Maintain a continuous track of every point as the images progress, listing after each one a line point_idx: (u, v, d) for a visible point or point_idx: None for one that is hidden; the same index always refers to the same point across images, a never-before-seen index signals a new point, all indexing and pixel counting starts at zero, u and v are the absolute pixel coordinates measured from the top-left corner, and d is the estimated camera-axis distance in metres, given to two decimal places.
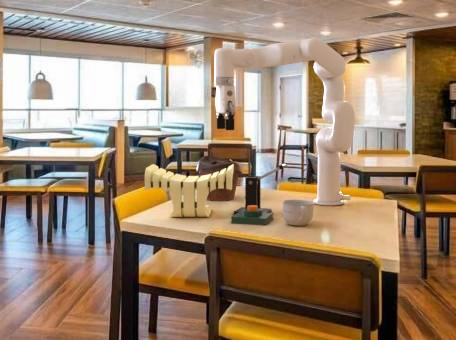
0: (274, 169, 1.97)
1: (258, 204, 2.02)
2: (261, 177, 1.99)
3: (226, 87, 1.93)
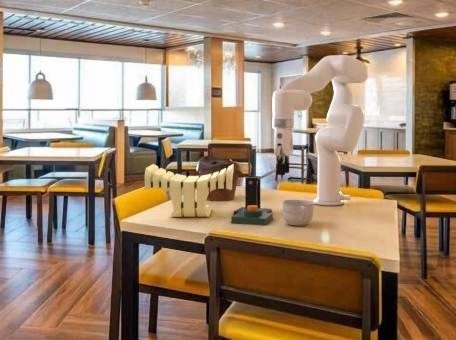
0: (274, 169, 1.97)
1: (258, 204, 2.02)
2: (261, 177, 1.99)
3: (277, 129, 1.92)
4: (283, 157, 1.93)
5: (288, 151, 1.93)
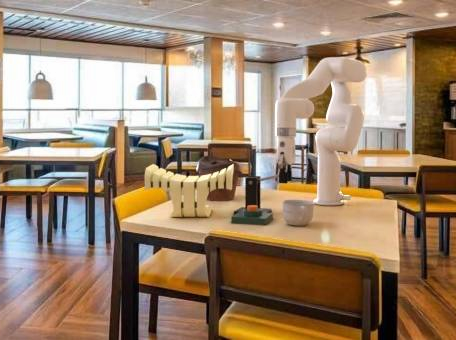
0: (276, 175, 1.97)
1: (258, 204, 2.02)
2: (262, 179, 1.99)
3: (280, 138, 1.92)
4: (286, 165, 1.93)
5: (291, 159, 1.93)
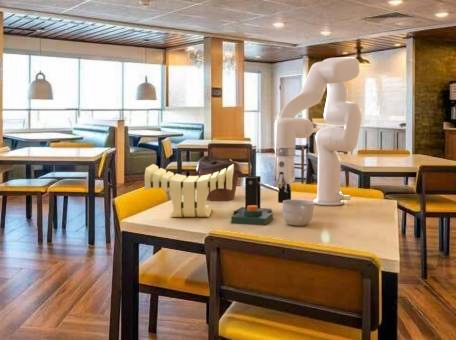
0: (277, 189, 1.98)
1: (258, 204, 2.02)
2: (262, 185, 1.99)
3: (279, 158, 1.93)
4: (285, 185, 1.94)
5: (290, 179, 1.94)
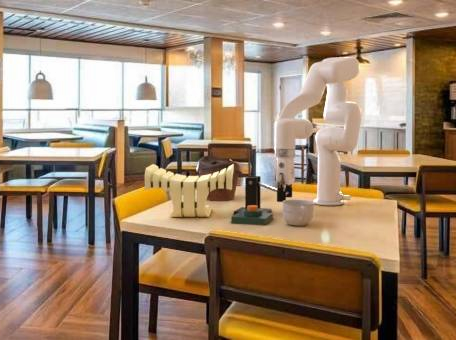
0: (276, 189, 1.98)
1: (258, 204, 2.02)
2: (262, 185, 1.99)
3: (279, 159, 1.93)
4: (284, 184, 1.93)
5: (290, 180, 1.94)
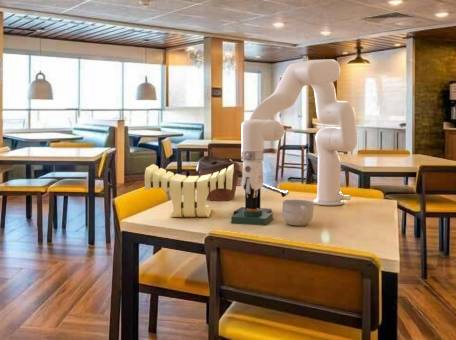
0: (276, 189, 1.98)
1: (258, 204, 2.02)
2: None
3: (245, 162, 1.82)
4: (253, 192, 1.85)
5: (257, 185, 1.83)
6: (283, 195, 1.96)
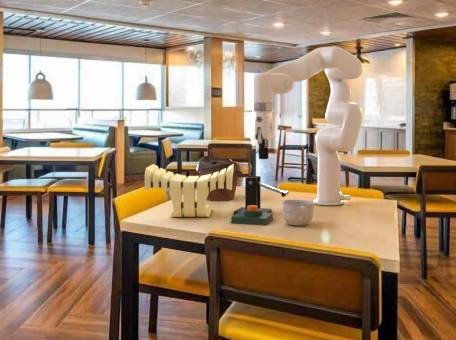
0: (276, 189, 1.98)
1: (258, 204, 2.02)
2: (262, 185, 1.99)
3: (256, 113, 1.89)
4: (264, 142, 1.92)
5: (268, 135, 1.90)
6: (283, 195, 1.96)
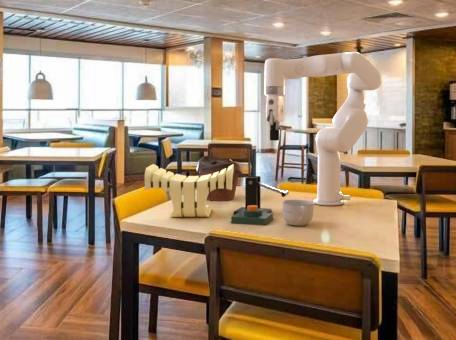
0: (276, 189, 1.98)
1: (258, 204, 2.02)
2: (262, 185, 1.99)
3: (269, 96, 1.99)
4: (276, 124, 2.02)
5: (279, 117, 2.01)
6: (283, 195, 1.96)
